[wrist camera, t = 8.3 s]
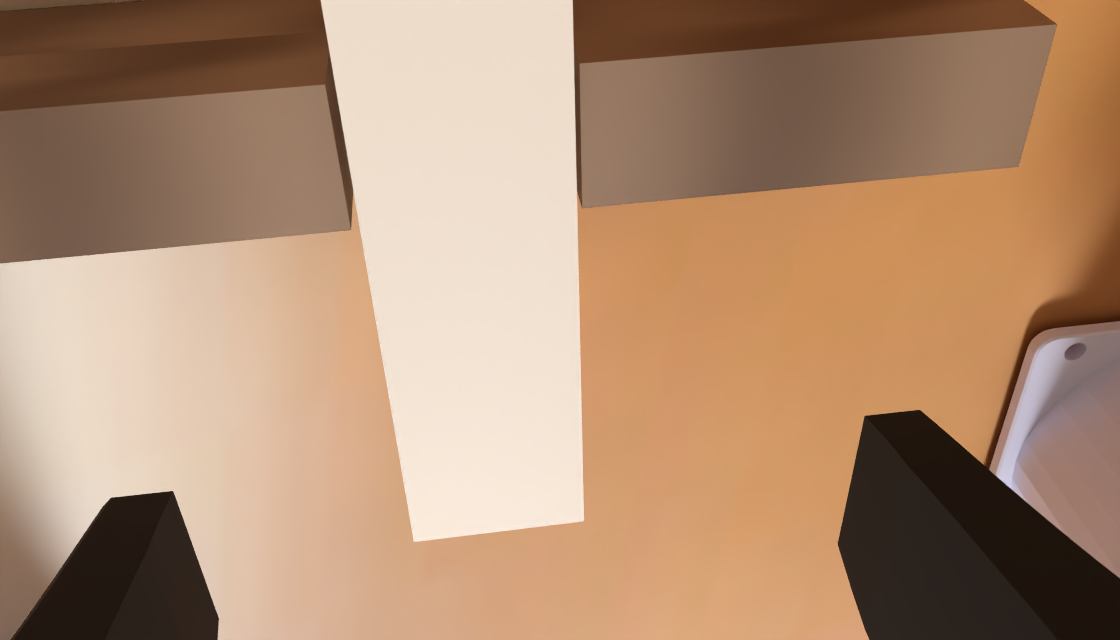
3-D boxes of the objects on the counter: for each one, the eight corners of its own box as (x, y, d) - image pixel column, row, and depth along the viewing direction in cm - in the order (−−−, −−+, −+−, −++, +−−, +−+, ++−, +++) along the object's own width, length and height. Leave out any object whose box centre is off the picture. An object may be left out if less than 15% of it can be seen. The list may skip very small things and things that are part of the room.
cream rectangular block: (524, 224, 21) (583, 521, 15) (405, 236, 21) (413, 541, 14) (498, -212, 16) (570, -51, 10) (343, -203, 16) (314, -33, 10)
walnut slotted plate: (942, -59, 19) (1057, 24, 15) (918, 67, 20) (1018, 166, 17) (-107, 19, 17) (-221, 129, 14) (-51, 150, 18) (-141, 276, 15)
